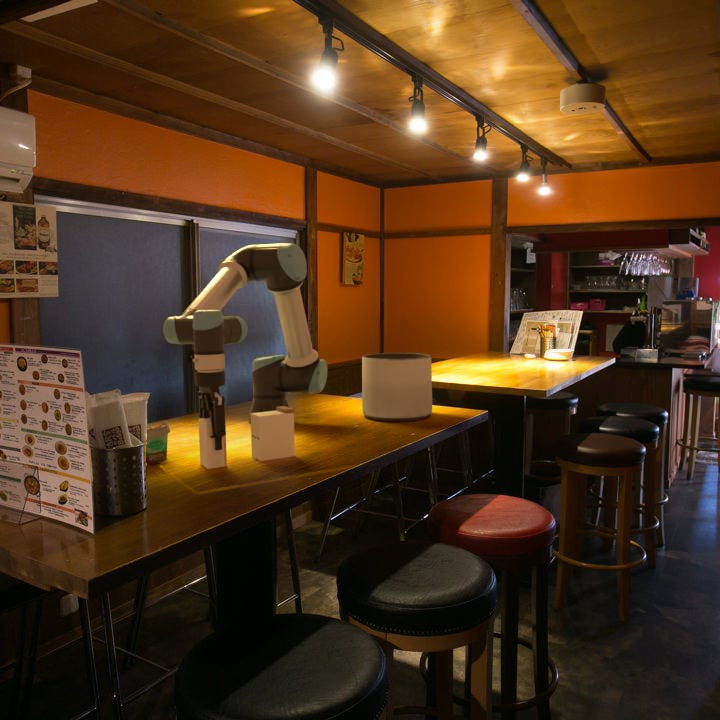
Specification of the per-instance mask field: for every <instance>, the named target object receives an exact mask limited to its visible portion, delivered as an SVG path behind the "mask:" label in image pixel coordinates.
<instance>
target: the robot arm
mask: <svg viewBox="0 0 720 720" xmlns="http://www.w3.org/2000/svg"><path fill="white" fill-rule="evenodd" d="M307 264H308V263H307V259H306V256H305V254H304V251H303V250H302V248H301V247H300V246H299V245H297V244H295V243H290V242H289V243H287V242H280V243H264V244H261V243H260V244H258V243H257V244H256V243H255V244H249V245H246V246H243V247H242V248H240V249H238V250H236V251H234V252H232V254H230V255H228V257H227V258H226V259H224V260H223V262H222V263H221V264H220V265H219V266H218V269H217V273H216V275H215V276H213V278H212V279H211V280H210V281H209V282H208V284H207V285H206V286H205V287H204V288H203V289H202V291H201V292H199V294H198V295H197V296H196V297H195V298H194V300H193V301H192V302H191V303H190V304H189V306H188V307H187V308H186V309H185V310H184V311H183V312H182V313H181V315H179V316H177V315H174V316H169V317H167V318H166V320H165V321H164V323H163V329H162V332H163V336H164V339H165V340H166V341H167V342H168V343H170V344H176V345H193V349H194V351H193V353H194V355H193V356H194V358H192V363H194V369H195V370H196V371H195V372H194V380H195V381H194V383H195V384H194V385H195V386H196V387H198V388H201V391H198V392H197V396H198V398H197V399H198V420H199V419H200V418H210V420H211V427H212V434H213V435H212V436H210V438H211V445H212V463H217V462H223V436H224V435H226V436H227V430H226V429H227V428H226V413H225V412H226V411H225V400H226V398H225V396H222V395H221V392H220V387H223V386H225V385H226V372H225V370H224V369H225V368H226V358H225V357H226V356H225V345H237V344H239V343H241V342H243V341H244V340H245V339H246V337H247V335H248V333H249V332H248V330H249V329H248V325H247V323H246V320H245V319H243V318H242V317H240V316H236V315H227V316H224V314H223V311H222V309H223V307H225V306H226V304H227V303H228V302H229V300H230V299H231V298H232V297H233V295H234V294H235V293H236V292H237V290H239V289H241V288H243V287H245V285H247V284H248V283H252V282H265V285H266V287H267V290H268V291H269V292H271V293H273V296H274V297H273V298H274V302H275V305H276V310H277V314H278V318H279V322H280V326H281V331H282V336H283V339H284V344H285V347H286V352H287V355H285V354H278V355H270V356H269V355H268V356H262V357H257V358H255V359H254V360H253V362H252V367H251V373H252V395H253V400H252V405H251V407H250V411H249V414H248V423H249V424H251V413H259V412H268V411H276V407H280V406H285V407H289V408H290V405H289V403H288V399H287V398H288V397H287V393H297V394H298V393H300V394H303V393H304V394H319V393H321V392H322V391H323V390H324V388H325V386H326V383H327V379H328V378H327V377H328V363H327V361H326V360H325V359H323V358H320V356H319V353H318V351H317V350H315V349H313V344H312V341H311V334H310V331H309V327H308V326H309V325H308V320H307V316H306V311H305V307H304V303H303V297H302V294H301V293H302V292H301V289H300V288H301V286H302V285H303V283H304V280H305V278H306V277H307V272H308V269H307V266H308V265H307Z"/></svg>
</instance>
